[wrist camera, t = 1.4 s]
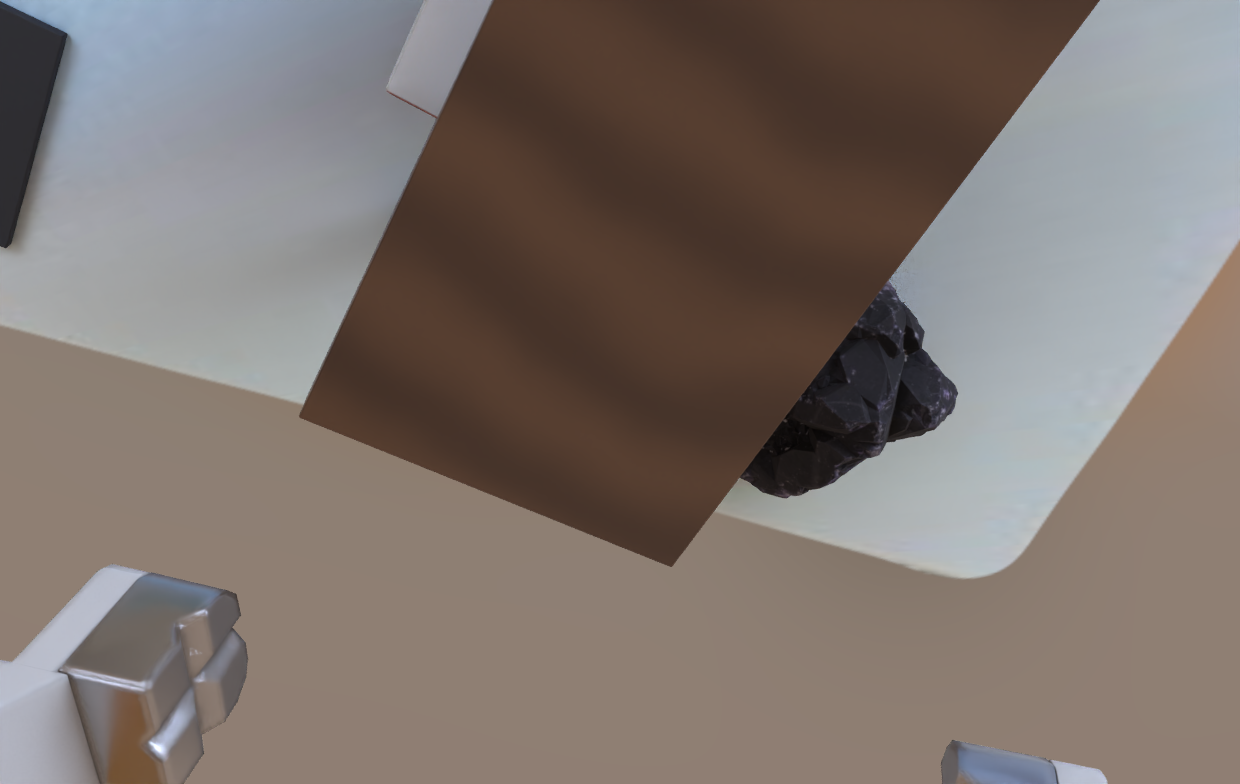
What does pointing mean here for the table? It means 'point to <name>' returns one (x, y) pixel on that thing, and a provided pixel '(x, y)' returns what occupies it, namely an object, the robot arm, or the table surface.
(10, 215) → the mat
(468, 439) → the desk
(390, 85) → the small box
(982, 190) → the table surface
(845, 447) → the crystal cluster
